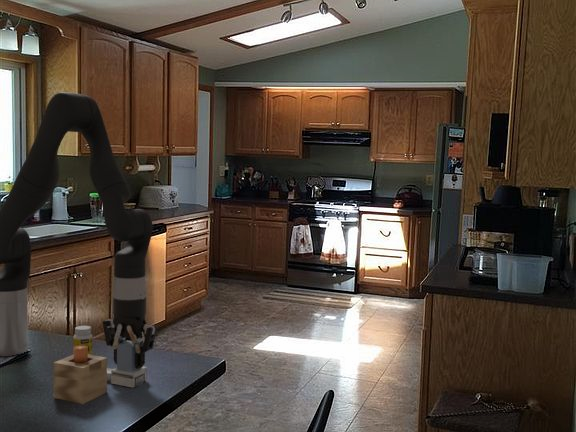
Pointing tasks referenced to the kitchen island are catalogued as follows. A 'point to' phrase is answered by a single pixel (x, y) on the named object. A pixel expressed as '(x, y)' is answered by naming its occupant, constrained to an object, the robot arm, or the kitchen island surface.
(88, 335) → the supplement bottle
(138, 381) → the rail
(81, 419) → the kitchen island surface
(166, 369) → the kitchen island surface
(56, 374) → the open wooden box
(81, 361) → the brown egg
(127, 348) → the carriage
